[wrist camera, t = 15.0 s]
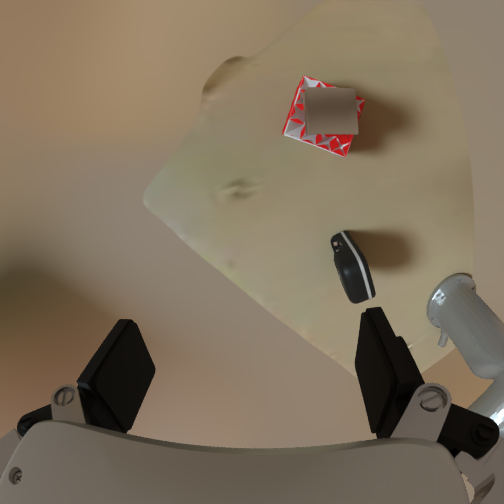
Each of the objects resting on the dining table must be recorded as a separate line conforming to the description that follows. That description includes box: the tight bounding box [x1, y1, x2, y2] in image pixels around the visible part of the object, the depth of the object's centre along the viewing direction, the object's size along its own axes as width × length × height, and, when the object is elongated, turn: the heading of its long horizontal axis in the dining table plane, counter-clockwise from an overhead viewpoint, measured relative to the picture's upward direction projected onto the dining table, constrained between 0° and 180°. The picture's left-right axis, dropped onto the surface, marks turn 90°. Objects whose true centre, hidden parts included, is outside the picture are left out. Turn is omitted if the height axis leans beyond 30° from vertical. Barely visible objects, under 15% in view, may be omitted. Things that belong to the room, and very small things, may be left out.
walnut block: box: [302, 87, 359, 135], centre depth 27 cm, size 5×5×5 cm
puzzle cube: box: [282, 75, 365, 157], centre depth 33 cm, size 8×8×8 cm
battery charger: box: [331, 231, 376, 304], centre depth 39 cm, size 7×4×11 cm, turn 25°
